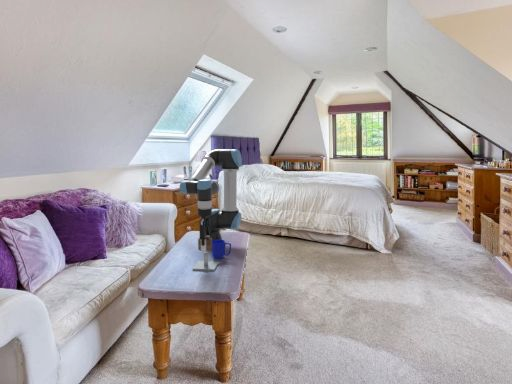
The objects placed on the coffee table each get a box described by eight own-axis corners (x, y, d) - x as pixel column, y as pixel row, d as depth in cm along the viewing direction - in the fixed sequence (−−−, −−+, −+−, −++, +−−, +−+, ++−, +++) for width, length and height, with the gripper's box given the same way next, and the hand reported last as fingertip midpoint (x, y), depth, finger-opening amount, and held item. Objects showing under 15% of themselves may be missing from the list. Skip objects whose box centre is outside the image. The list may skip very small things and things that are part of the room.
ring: (200, 247, 185) (200, 236, 184) (212, 247, 184) (212, 237, 183) (197, 250, 178) (197, 240, 177) (209, 251, 177) (209, 240, 177)
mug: (229, 260, 193) (229, 244, 191) (209, 259, 195) (209, 243, 194) (232, 255, 201) (232, 240, 199) (214, 254, 203) (213, 239, 202)
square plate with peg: (198, 262, 190) (198, 249, 188) (218, 263, 188) (218, 249, 187) (192, 270, 178) (192, 256, 177) (214, 271, 176) (213, 257, 175)
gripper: (202, 204, 188) (203, 243, 191) (192, 211, 169) (193, 254, 172) (215, 205, 187) (216, 243, 191) (206, 211, 168) (207, 254, 171)
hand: (205, 248), depth 181 cm, fingers closed on ring, 7 cm apart
